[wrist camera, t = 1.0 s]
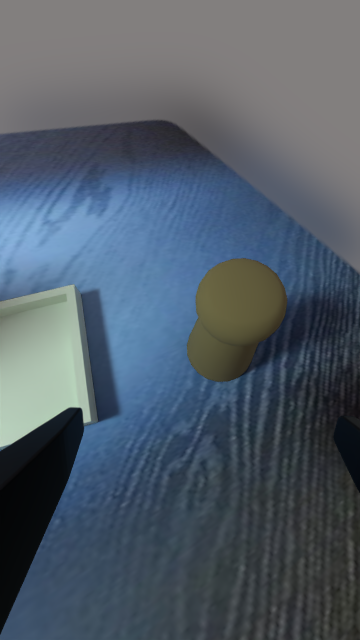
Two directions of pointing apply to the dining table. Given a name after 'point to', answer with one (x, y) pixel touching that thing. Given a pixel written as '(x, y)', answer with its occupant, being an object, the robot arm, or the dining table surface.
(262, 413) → the dining table surface
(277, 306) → the cork
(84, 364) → the tray
